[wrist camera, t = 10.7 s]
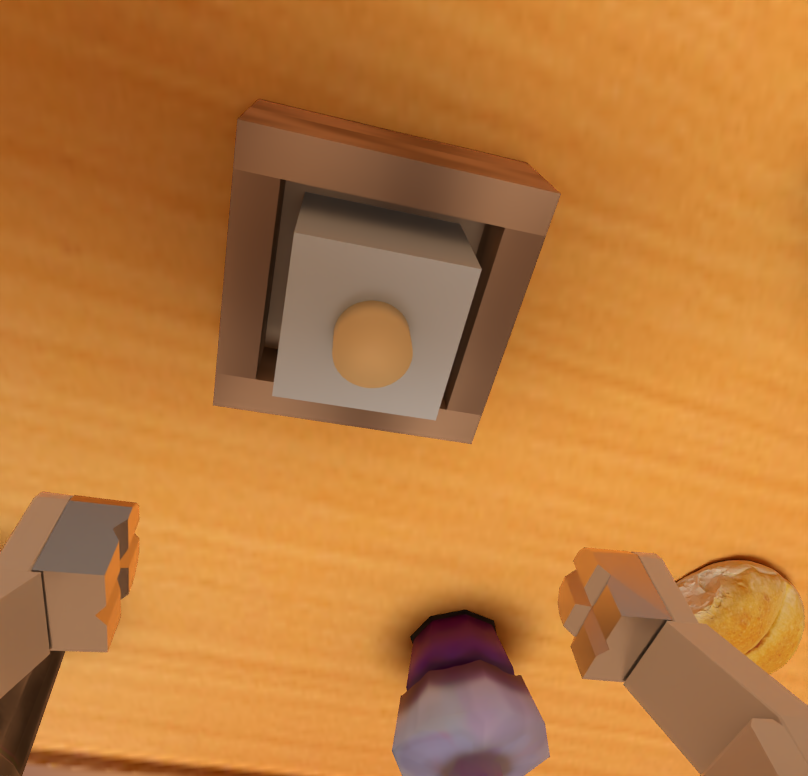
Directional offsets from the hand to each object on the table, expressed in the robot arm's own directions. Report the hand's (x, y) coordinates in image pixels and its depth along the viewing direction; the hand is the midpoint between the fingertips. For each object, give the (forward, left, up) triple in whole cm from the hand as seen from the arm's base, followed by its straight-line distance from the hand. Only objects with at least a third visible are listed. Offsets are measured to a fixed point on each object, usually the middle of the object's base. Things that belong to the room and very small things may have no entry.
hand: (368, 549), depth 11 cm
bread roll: (+26, -18, -16) cm, 35 cm away
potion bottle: (+10, -23, -16) cm, 30 cm away
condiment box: (0, 0, -16) cm, 16 cm away
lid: (0, 0, -14) cm, 14 cm away
